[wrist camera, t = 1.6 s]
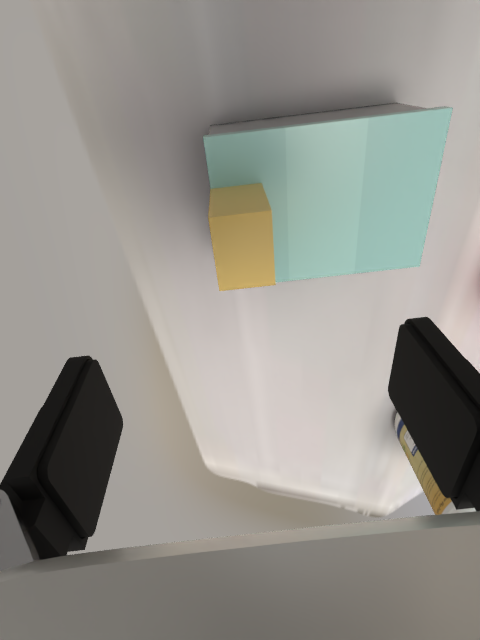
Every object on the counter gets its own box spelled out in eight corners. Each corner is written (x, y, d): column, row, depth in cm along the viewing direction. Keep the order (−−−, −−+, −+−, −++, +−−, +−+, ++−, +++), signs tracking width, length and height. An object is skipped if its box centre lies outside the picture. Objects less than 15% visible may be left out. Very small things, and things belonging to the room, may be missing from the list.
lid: (436, 104, 20) (516, 117, 15) (408, 255, 26) (459, 305, 20) (204, 132, 21) (198, 155, 15) (224, 275, 26) (225, 331, 21)
